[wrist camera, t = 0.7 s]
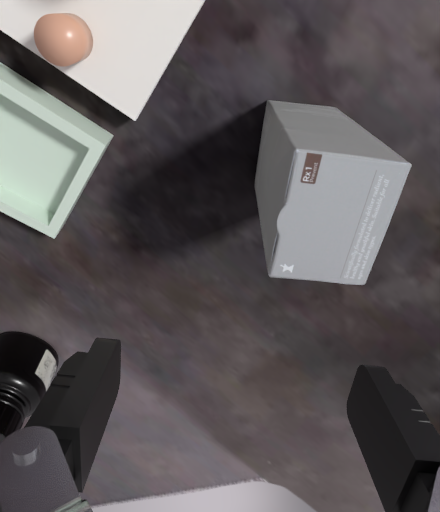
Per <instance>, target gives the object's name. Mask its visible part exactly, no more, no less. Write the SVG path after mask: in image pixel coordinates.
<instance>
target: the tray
mask: <svg viewBox="0 0 440 512" xmlns="http://www.w3.org/2000/svg"><path fill="white" fill-rule="evenodd" d="M113 136H114V135H112V134H111V133H109V132H108V131H106V130H104V129H103V128H101V127H100V126H98V125H97V124H95V123H94V122H92V121H90V120H89V119H87V118H86V117H84V116H83V115H81V114H80V113H78V112H77V111H75V110H73V109H72V108H70V107H69V106H67V105H66V104H64V103H63V102H61V101H60V100H58V99H56V98H55V97H53V96H52V95H50V94H49V93H47V92H46V91H44V90H43V89H41V88H39V87H38V86H36V85H35V84H33V83H32V82H30V81H29V80H27V79H26V78H24V77H22V76H21V75H19V74H18V73H16V72H15V71H13V70H12V69H10V68H9V67H7V66H5V65H4V64H2V63H1V62H0V211H1V212H3V213H5V214H7V215H9V216H11V217H13V218H14V219H16V220H18V221H20V222H22V223H24V224H26V225H28V226H30V227H32V228H34V229H36V230H38V231H40V232H42V233H44V234H46V235H48V236H50V237H52V238H54V239H55V237H56V236H57V234H58V233H59V231H60V230H61V228H62V227H63V225H64V224H65V222H66V220H67V219H68V217H69V215H70V213H71V211H72V210H73V208H74V206H75V204H76V202H77V201H78V199H79V197H80V195H81V193H82V192H83V190H84V188H85V186H86V185H87V183H88V181H89V179H90V177H91V176H92V174H93V172H94V170H95V168H96V167H97V165H98V163H99V161H100V159H101V158H102V156H103V154H104V152H105V150H106V149H107V147H108V145H109V143H110V141H111V140H112V138H113Z"/></svg>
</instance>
